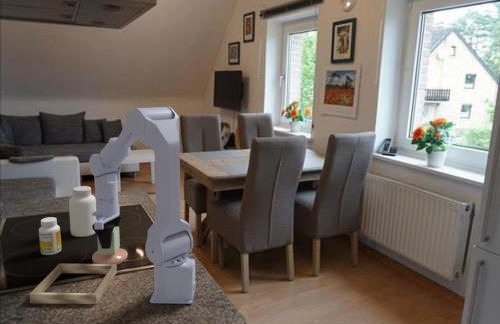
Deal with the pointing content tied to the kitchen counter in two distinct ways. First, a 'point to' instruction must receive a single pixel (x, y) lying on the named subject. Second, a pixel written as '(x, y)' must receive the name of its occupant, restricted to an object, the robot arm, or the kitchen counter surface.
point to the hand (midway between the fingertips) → (109, 244)
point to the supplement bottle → (49, 236)
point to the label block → (114, 242)
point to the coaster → (109, 257)
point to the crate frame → (73, 298)
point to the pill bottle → (82, 211)
